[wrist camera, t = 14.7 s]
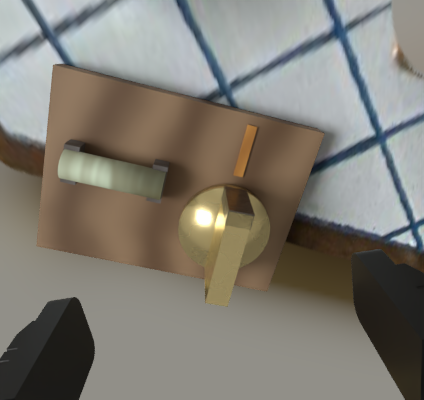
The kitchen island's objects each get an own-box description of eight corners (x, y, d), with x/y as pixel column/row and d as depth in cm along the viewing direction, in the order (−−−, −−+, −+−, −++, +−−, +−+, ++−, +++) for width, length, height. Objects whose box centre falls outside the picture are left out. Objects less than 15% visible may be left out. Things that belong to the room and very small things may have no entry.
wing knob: (188, 174, 32) (186, 201, 26) (279, 193, 33) (295, 223, 27) (171, 256, 35) (165, 296, 29) (255, 271, 36) (265, 312, 30)
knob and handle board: (317, 128, 33) (335, 141, 29) (263, 279, 39) (272, 309, 34) (62, 63, 30) (38, 66, 26) (44, 235, 36) (23, 262, 32)
